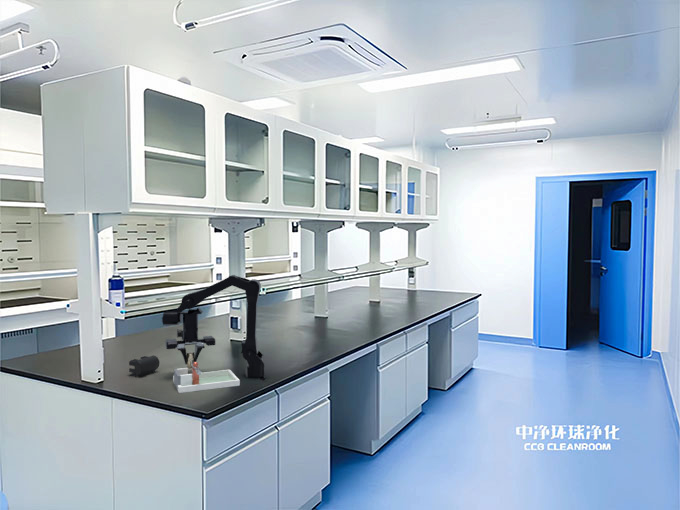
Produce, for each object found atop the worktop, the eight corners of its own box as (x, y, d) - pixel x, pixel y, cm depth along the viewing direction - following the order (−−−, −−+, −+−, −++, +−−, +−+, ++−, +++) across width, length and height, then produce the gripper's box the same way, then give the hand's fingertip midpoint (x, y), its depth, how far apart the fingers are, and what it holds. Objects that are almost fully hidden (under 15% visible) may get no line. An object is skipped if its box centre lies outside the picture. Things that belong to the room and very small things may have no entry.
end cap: (141, 378, 195) (141, 361, 194) (128, 376, 197) (128, 359, 197) (159, 371, 204) (159, 355, 204) (146, 370, 207) (146, 354, 206)
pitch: (229, 376, 198) (229, 361, 198) (239, 388, 184) (239, 371, 183) (173, 383, 188) (172, 367, 188) (178, 395, 174) (178, 378, 174)
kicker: (193, 373, 197) (193, 351, 196) (203, 389, 177) (203, 364, 177) (185, 374, 195) (185, 352, 195) (195, 390, 176) (195, 365, 176)
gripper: (210, 320, 205) (210, 356, 206) (163, 323, 197) (163, 361, 197) (215, 324, 195) (215, 363, 196) (166, 328, 187) (166, 368, 187)
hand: (190, 363), depth 194 cm, fingers closed on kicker, 3 cm apart
